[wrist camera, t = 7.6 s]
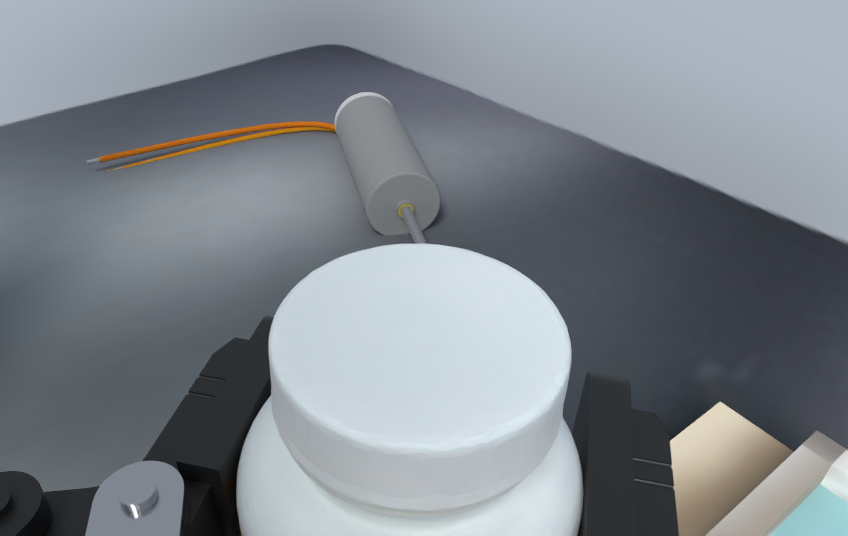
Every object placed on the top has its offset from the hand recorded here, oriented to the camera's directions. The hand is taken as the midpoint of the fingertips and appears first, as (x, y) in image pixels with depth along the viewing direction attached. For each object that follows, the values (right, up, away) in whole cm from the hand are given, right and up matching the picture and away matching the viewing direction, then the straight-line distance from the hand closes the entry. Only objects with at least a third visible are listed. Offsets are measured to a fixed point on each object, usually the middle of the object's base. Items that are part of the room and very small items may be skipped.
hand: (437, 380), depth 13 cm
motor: (-12, +6, +36) cm, 39 cm away
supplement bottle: (-1, -6, +2) cm, 7 cm away
